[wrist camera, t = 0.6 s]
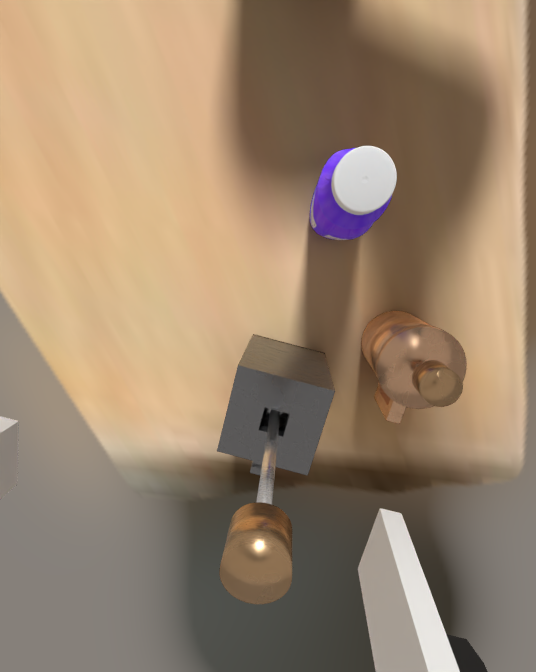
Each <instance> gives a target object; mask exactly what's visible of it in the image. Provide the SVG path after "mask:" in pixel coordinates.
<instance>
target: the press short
mask: <svg viewBox="0 0 536 672" xmlns="http://www.w3.org/2000/svg"><path fill="white" fill-rule="evenodd" d="M361 346H362V351H363V354H364V356H365V358H366V360H367V361H368V363H369V364H370V366H371V368H372V369H373V371H374V372H375V374H376V375H377V378H378V381H379V384H378V387H377V390H376V393H375V395H374V398H375V400H376V402H377V404H378V406H379V407H380V409H381V411H382V413H383V415H384V417H385V419H386V420H387V421H391V422H394V423H398V424H400V422H401V419H402V416H403V414H404V411H405V409H406V407H409V408H416V409H421V408H429V407H433V406H437V407H444V406H448V405H450V404H452V403H454V402H455V401H456V400H457V399H458V398H459V397H460V395H461V393H462V389H463V384H462V382H463V380H464V377H465V373H466V357H465V353H464V350H463V348H462V346H461V345H460V343H459V342H458V341H457V340H456V339H455V338H454V337H453V336H452V335H450V334H449V333H447V332H446V331H444V330H442V329H440V328H437V327H434V326H431V325H429V324H427V323H425V322H424V321H422V320H420V319H418V318H417V317H415V316H413V315H411V314H409V313H407V312H403V311H389V312H385V313H382V314H380V315H378V316H377V317H375V318H374V319H373V320H372V321H371V322H370V323H369V324H368V325H367V327H366V328H365V330H364V332H363V335H362V341H361Z"/></svg>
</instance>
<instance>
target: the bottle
mask: <svg viewBox="0 0 536 672" xmlns="http://www.w3.org/2000/svg"><path fill="white" fill-rule="evenodd" d="M396 181H397V173H396V168H395V165H394V162H393V160H392V159H391V157H390V156H389V155H388V154H387V153H386V152H385V151H383V150H382V149H380V148H377V147H374V146H361V147H358V148H351V149H344V150H341V151H338V152H336V153H334V154H333V155H332V156H331V157H330V158H329V159H328V161H327V162H326V164H325V166H324V167H323V169H322V172H321V175H320V178H319V180H318V183H317V186H316V188H315V191H314V194H313V198H312V202H311V208H310V223H311V226H312V228H313V229H314V231H315V232H316V233H317V234H319V235H321V236H323V237H325V238H328V239H333V240H335V239H336V240H351V239H354V238H357V237H359V236H361V235H363V234H364V233H365V232H367V231H368V229H369V228H370V227H371V226H372V224H373V223H374V222H375V221H376V220H377V219H378V218H379V217H380V216H381V215H382V214H383V213H384V211H385V210H386V208H387V206H388V204H389V202H390V200H391V197H392V193H393V191H394V189H395V186H396Z"/></svg>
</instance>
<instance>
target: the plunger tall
mask: <svg viewBox="0 0 536 672" xmlns="http://www.w3.org/2000/svg"><path fill="white" fill-rule="evenodd" d="M287 418H288V413H284V412H281V411H277V410H273V409H269V408H266V407H265V408H264V412H263V415H262V419H261V422H260V425H262V426H265V427H268V429H267V436H266V442H265V449H264V455H263V462H262V468H261V475H260V482H259V488H258V495H257V501H256V503H250V504H247V505H245V506H243V507H241V508H240V509H238V510H237V511H236V513H235V514H234V515H233V517H232V519H231V523H230V527H229V531H228V535H227V539H226V544H225V549H224V552H223V557H222V561H221V565H220V579H221V582H222V584H223V586H224V587H225V589H226V590H227V591H228V592H229V593H230V594H231V595H232V596H234V597H235V598H237V599H239V600H241V601H244V602H246V603H251V604H266V603H271V602H274V601H276V600H278V599H279V598H281V597H282V596H283V595H284V594H285V593H286V592H287V591H288V589H289V587H290V585H291V582H292V525H291V522H290V520H289V518H288V516H287V515H286V514H285V513H284V512H283V511H282V510H281V509H279V508H278V507H276V506H274V505H272V498H273V488H274V477H275V466H276V454H277V443H278V432H279V430H280V431H284V428H285V425H286V421H287Z"/></svg>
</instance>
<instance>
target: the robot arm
mask: <svg viewBox="0 0 536 672" xmlns="http://www.w3.org/2000/svg"><path fill="white" fill-rule="evenodd" d="M18 433H19V421H17V420H12V419H8V418H4V417H0V499H2V498H3V497H4V496H5V495H6V494H7V493H8V492H10V491H11V490H12V489H13V488H14V487H15V486H16V485H17V474H18V473H17V472H18ZM358 573H359V579H360V584H361V590H362V596H363V601H364V607H365V613H366V618H367V624H368V630H369V635H370V640H371V647H372V653H373V658H374V664H375V670H376V672H487V669H486V667H485V665H484V663H483V662H482V660H481V659H480V657H479V656H478V655H477V653H476V652H475V650H474V649H473V648H472V646H471V645H470V643H469V642H468V641H467V639H463V638H459V637H455V636H451V635H447V634H446V633H445V630H444V627H443V625H442V622H441V619H440V617H439V614H438V611H437V608H436V606H435V603H434V600H433V598H432V595H431V592H430V589H429V587H428V584H427V581H426V579H425V576H424V573H423V570H422V568H421V565H420V562H419V560H418V557H417V554H416V552H415V549H414V546H413V543H412V541H411V538H410V535H409V533H408V530H407V527H406V524H405V522H404V519H403V516H402V514H401V513H398V512H393V511H389V510H386V509H381V508H380V509H379V512H378V514H377V518H376V520H375V523H374V525H373V528H372V531H371V533H370V536H369V539H368V542H367V545H366V547H365V550H364V553H363V555H362V558H361V561H360V564H359V567H358Z"/></svg>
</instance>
